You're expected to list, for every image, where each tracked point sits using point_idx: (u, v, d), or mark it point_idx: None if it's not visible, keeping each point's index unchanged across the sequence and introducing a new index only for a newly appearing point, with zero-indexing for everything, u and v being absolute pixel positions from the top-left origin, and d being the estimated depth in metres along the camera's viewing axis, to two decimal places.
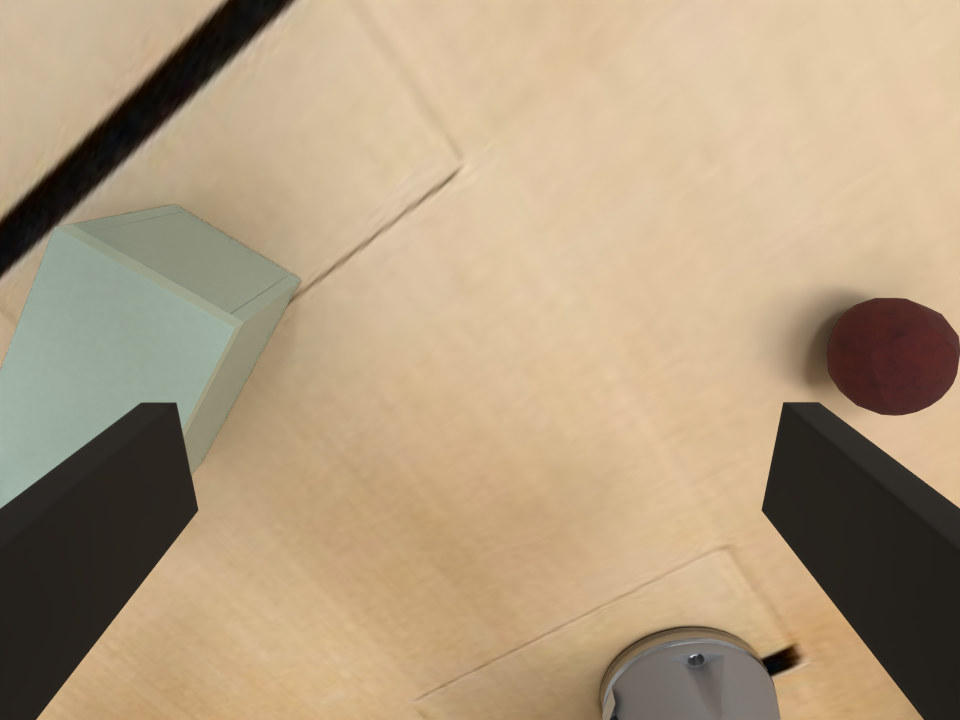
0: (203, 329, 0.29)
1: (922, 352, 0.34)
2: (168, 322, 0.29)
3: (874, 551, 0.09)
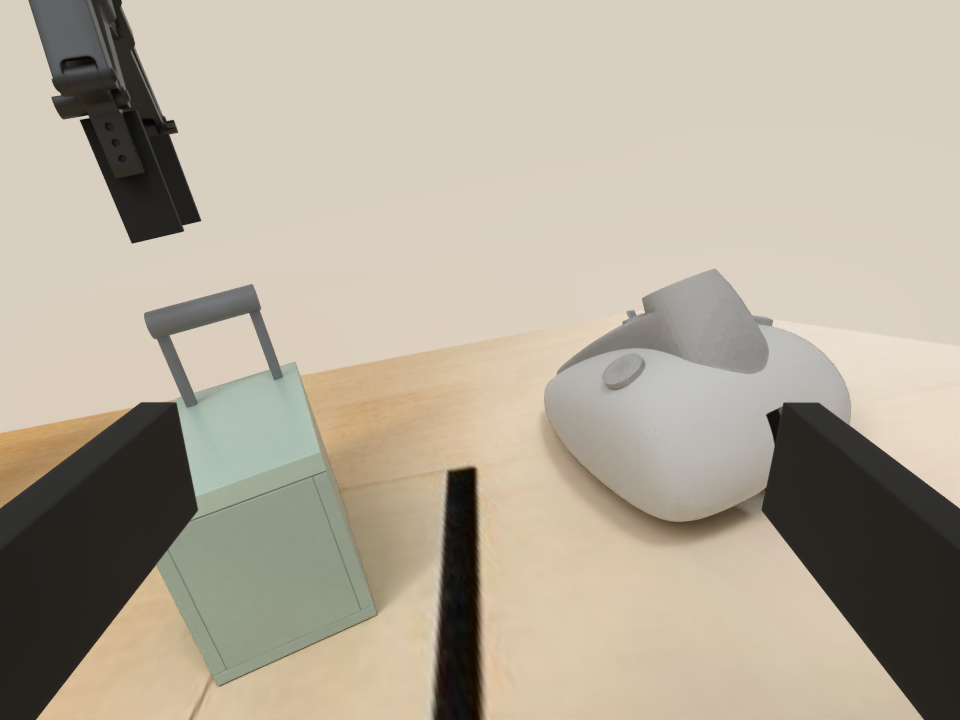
0: None
1: None
2: (197, 482, 0.30)
3: (874, 551, 0.09)
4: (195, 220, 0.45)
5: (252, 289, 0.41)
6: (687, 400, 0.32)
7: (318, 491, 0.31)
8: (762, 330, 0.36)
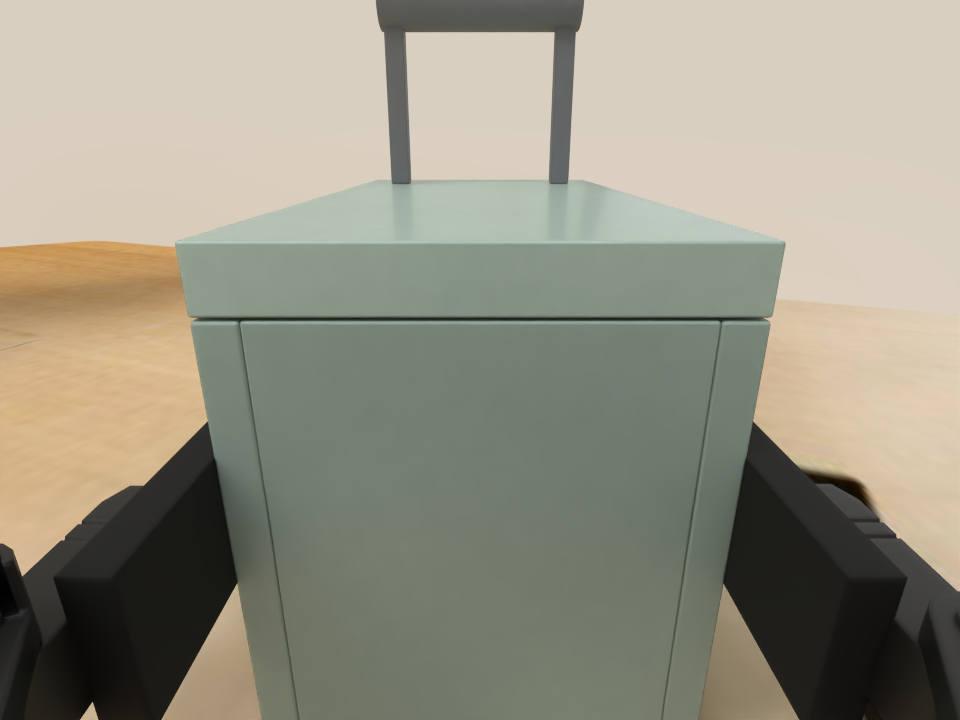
0: (280, 232, 0.10)
1: None
2: (383, 228, 0.10)
3: None
4: None
5: None
6: None
7: (715, 377, 0.09)
8: None
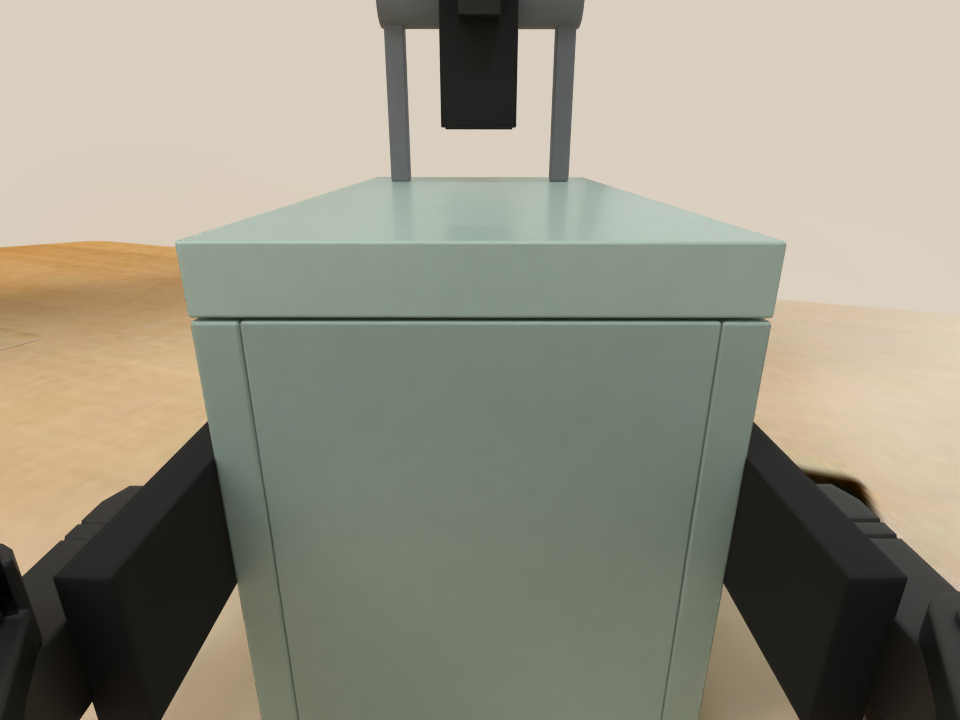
0: (280, 232, 0.10)
1: None
2: (383, 227, 0.10)
3: None
4: None
5: None
6: None
7: (716, 377, 0.09)
8: None
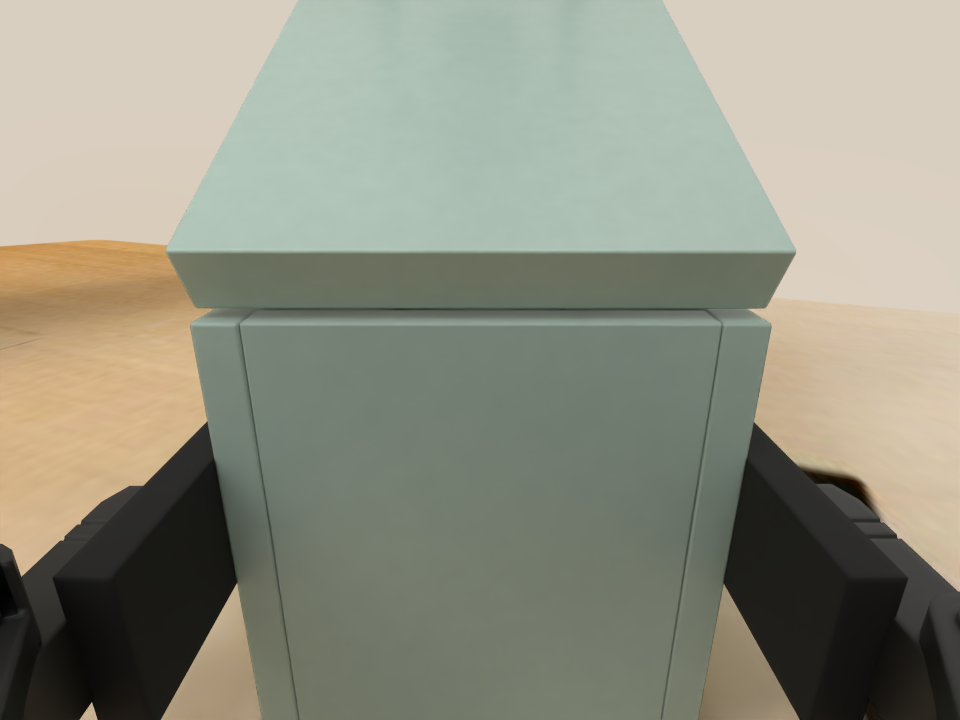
0: (267, 212, 0.09)
1: None
2: (376, 190, 0.09)
3: None
4: None
5: None
6: None
7: (716, 378, 0.09)
8: None
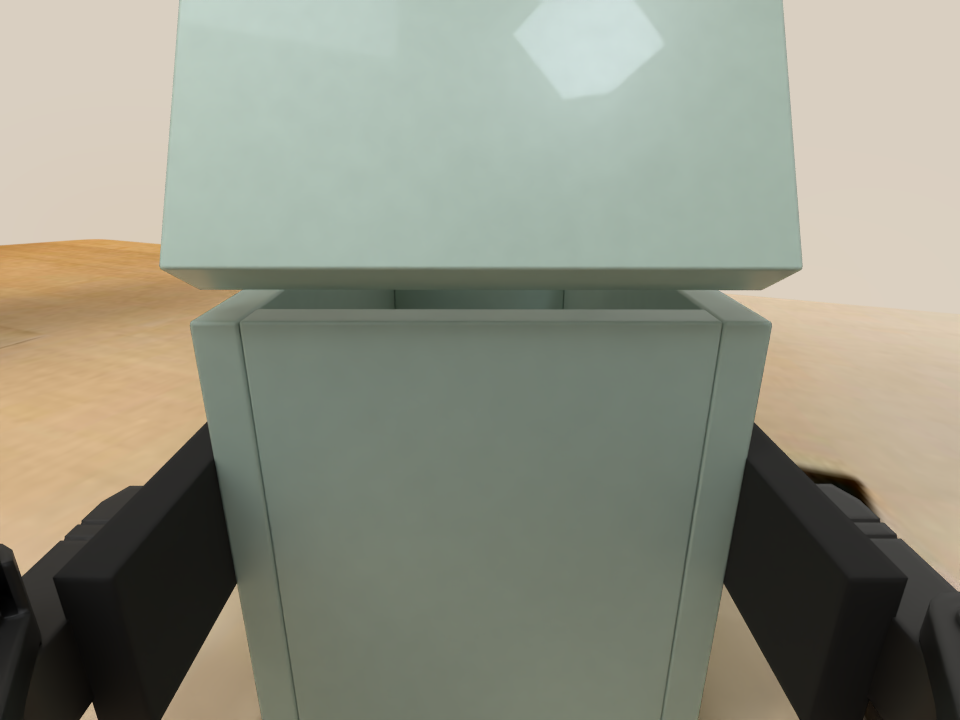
0: (252, 208, 0.08)
1: None
2: (365, 168, 0.08)
3: None
4: None
5: None
6: None
7: (717, 377, 0.09)
8: None
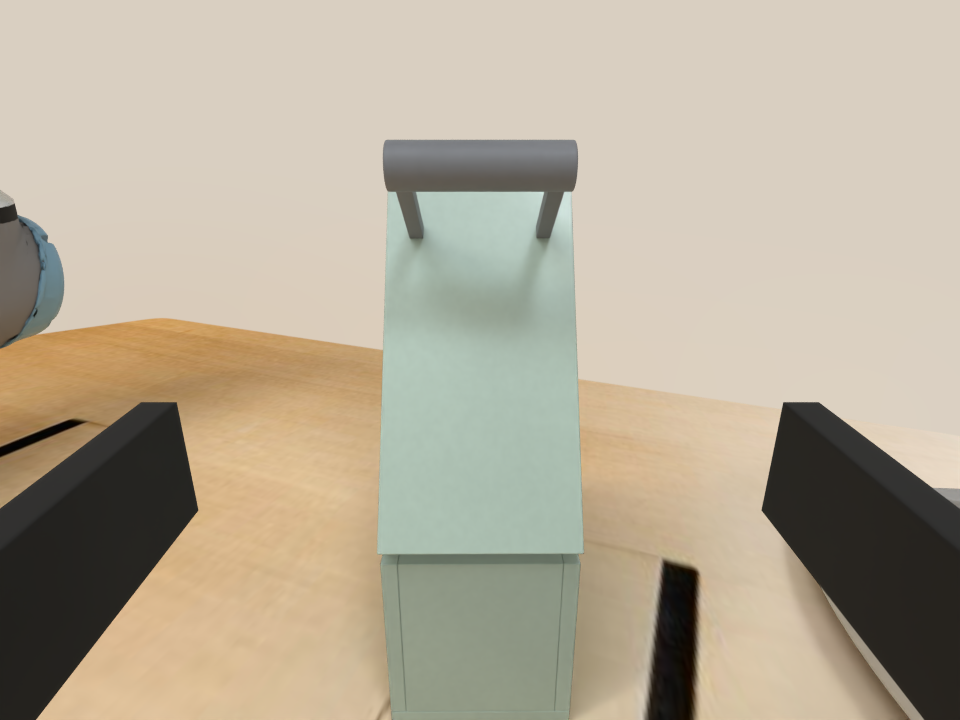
0: (406, 533, 0.26)
1: None
2: (442, 519, 0.26)
3: (874, 551, 0.09)
4: None
5: (575, 173, 0.22)
6: None
7: (563, 580, 0.27)
8: None
